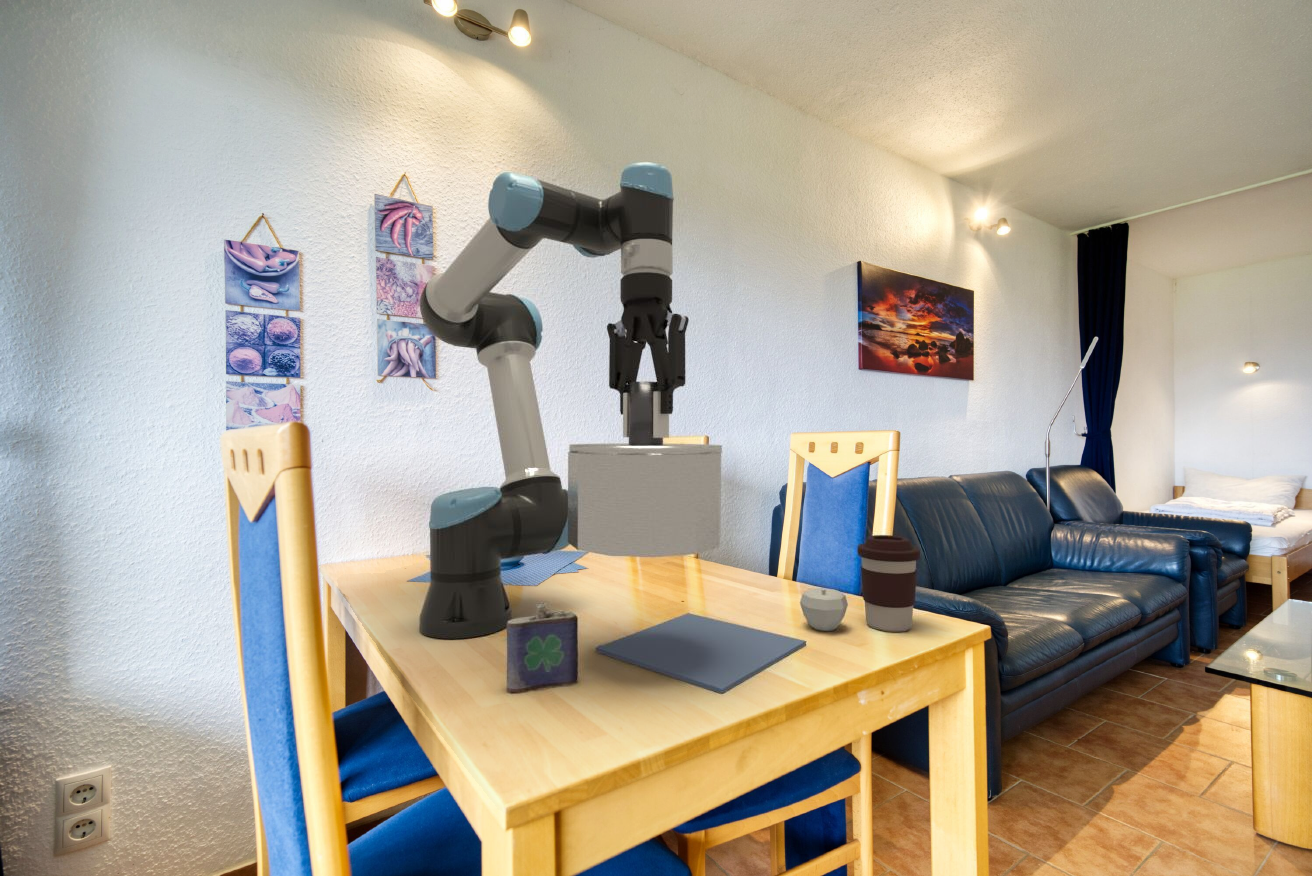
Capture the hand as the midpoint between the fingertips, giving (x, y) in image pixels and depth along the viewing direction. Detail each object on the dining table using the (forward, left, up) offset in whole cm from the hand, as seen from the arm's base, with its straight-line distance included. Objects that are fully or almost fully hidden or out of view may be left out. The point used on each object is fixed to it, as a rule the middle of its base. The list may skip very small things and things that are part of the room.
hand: (645, 437), depth 86 cm
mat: (+3, +9, -32) cm, 34 cm away
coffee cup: (+21, +38, -33) cm, 54 cm away
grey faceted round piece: (+13, +30, -33) cm, 46 cm away
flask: (-5, -15, -33) cm, 36 cm away
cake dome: (0, 0, -15) cm, 15 cm away
